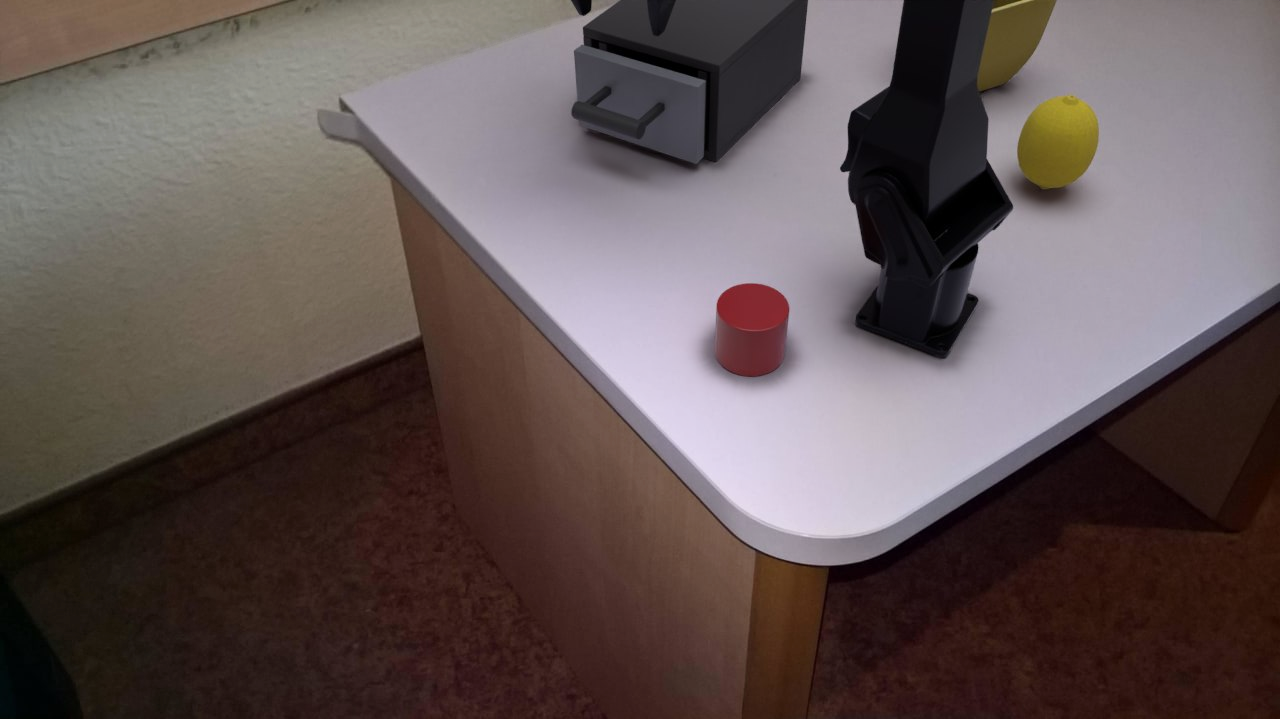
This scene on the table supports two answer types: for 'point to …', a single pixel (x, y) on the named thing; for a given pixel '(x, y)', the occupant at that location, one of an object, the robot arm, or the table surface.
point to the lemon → (1058, 142)
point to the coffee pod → (751, 329)
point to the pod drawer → (643, 99)
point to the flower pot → (1011, 38)
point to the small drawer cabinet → (719, 53)
